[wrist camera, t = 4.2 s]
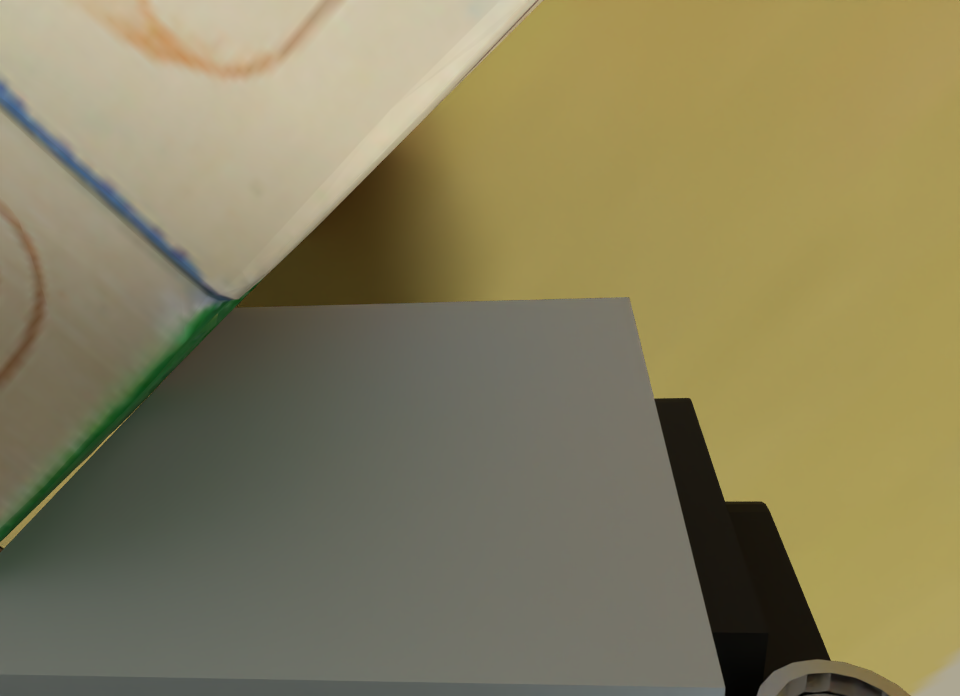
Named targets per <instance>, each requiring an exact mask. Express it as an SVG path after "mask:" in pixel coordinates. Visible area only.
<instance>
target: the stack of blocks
mask: <svg viewBox="0 0 960 696" xmlns="http://www.w3.org/2000/svg"><path fill="white" fill-rule="evenodd" d="M542 1H543V0H0V542H1V541H2V540H3V539H4V538H5V537H6V536H7V535H8V534H9V533H10V532H11V531H12V530H13V529H14V528H15V527H16V526H17V525H18V524H19V523H20V522H21V521H22V520H23V519H24V518H25V517H26V516H27V515H28V514H29V513H30V512H31V511H32V510H34V509H35V508H36V507H37V506H38V505H39V504H40V503H41V502H42V501H43V500H44V499H45V498H46V497H47V496H48V495H49V494H50V493H51V492H52V491H53V490H54V489H55V488H56V487H57V486H58V485H59V484H60V483H61V482H62V481H63V480H64V479H65V478H66V477H67V476H68V475H69V474H70V473H71V472H72V471H73V470H74V469H75V468H76V467H77V466H79V465H80V464H81V463H82V462H83V461H84V460H85V459H86V458H87V457H88V456H89V455H90V454H91V453H92V452H93V451H94V450H95V449H96V448H97V447H98V446H99V445H100V444H101V443H102V442H103V441H104V440H105V439H106V438H107V437H108V436H109V435H110V434H111V433H112V432H113V431H114V430H115V429H116V428H117V427H118V426H119V425H120V424H121V423H122V422H123V421H124V420H125V419H126V418H128V417H129V416H130V415H131V414H132V413H133V411H134V410H135V409H136V408H137V407H138V406H139V405H140V404H141V403H142V402H143V401H144V400H145V399H146V398H147V397H148V396H149V395H150V394H151V393H152V392H153V391H154V390H155V389H156V388H157V387H158V386H159V384H160V383H161V382H162V381H163V380H164V379H165V378H166V377H167V376H168V375H169V374H170V373H171V372H172V371H173V370H174V369H175V368H176V367H177V366H178V365H179V364H180V363H181V362H182V361H183V360H184V359H185V358H186V357H187V356H188V355H189V354H190V353H191V352H192V351H193V350H194V349H195V348H196V347H197V346H198V345H199V344H200V343H201V342H202V341H203V340H204V339H205V337H206V336H207V335H208V334H209V333H210V332H211V331H212V330H213V329H214V328H215V327H216V326H217V325H218V324H219V323H220V322H221V321H222V320H223V319H224V318H225V317H226V316H227V315H228V314H229V313H230V312H231V311H232V310H233V309H234V308H235V307H236V306H237V305H238V304H239V303H240V302H241V301H242V300H243V299H244V298H245V297H246V296H247V295H248V294H249V293H250V292H251V291H252V290H253V289H254V288H255V287H256V286H257V285H258V283H259V282H260V281H261V280H262V279H263V278H264V277H265V276H266V275H267V274H268V273H269V272H270V271H271V270H272V269H274V268H275V267H276V266H277V265H278V264H279V263H280V262H281V261H282V260H283V259H284V258H285V257H286V256H287V255H288V254H289V253H290V252H291V251H292V250H293V249H294V248H295V247H296V246H298V245H299V244H300V243H301V242H302V241H303V240H304V239H305V238H306V237H307V236H308V235H309V234H310V233H311V232H312V231H313V230H314V229H315V228H316V227H317V226H318V225H319V224H320V223H321V222H322V221H323V220H324V219H325V218H326V217H327V216H328V215H329V214H330V213H331V212H332V211H333V210H334V209H335V208H336V207H337V206H338V205H339V204H340V203H341V202H342V201H343V200H344V199H345V198H346V197H347V196H348V195H349V194H350V193H351V192H352V191H353V190H354V189H355V188H356V187H357V186H358V185H359V184H360V183H361V182H362V181H363V180H364V179H365V178H366V177H367V176H368V175H369V174H370V173H371V172H372V171H373V170H374V169H375V168H376V167H377V166H378V165H379V164H380V163H381V162H382V161H383V160H384V159H385V158H386V157H387V156H388V155H389V154H390V153H391V152H392V151H393V150H394V149H395V148H396V147H397V146H398V145H399V144H400V143H401V142H402V141H403V140H404V139H405V138H406V137H407V136H408V135H409V134H410V133H411V132H412V131H413V130H414V129H415V128H416V127H417V126H418V125H419V124H420V122H421V121H422V120H423V119H424V118H425V117H426V116H427V115H428V114H429V113H430V112H431V111H432V110H433V109H434V108H435V107H436V106H437V105H438V104H439V103H440V102H441V101H442V100H443V99H444V98H445V97H446V96H447V95H448V94H449V93H450V92H451V91H452V90H453V89H454V88H455V87H456V86H457V85H458V84H459V83H460V82H462V81H463V80H464V79H465V78H466V77H467V76H468V75H469V74H470V73H471V72H472V71H473V70H474V69H475V68H476V67H477V66H478V65H479V64H480V63H481V62H482V61H483V60H484V59H485V58H486V57H487V56H488V55H489V54H490V53H491V52H492V51H493V50H494V49H495V48H496V47H497V46H498V45H499V44H500V43H501V42H502V41H503V40H504V39H505V38H506V37H507V36H508V35H509V34H510V33H511V32H512V31H513V30H514V29H515V28H516V27H517V26H518V25H519V24H520V23H521V22H522V21H523V20H524V19H525V18H526V17H527V16H528V15H529V14H530V13H531V12H532V11H533V10H534V9H535V8H536V7H537V6H538V5H539V4H540V3H541V2H542Z"/></svg>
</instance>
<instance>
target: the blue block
mask: <svg viewBox="0 0 960 696" xmlns="http://www.w3.org/2000/svg"><path fill="white" fill-rule="evenodd" d="M0 696H725V685H724V681H723V676H722V672H721V668H720V664H719V660H718V656H717V652H716V648H715V644H714V640H713V636H712V632H711V628H710V624H709V620H708V616H707V611H706V607H705V603H704V599H703V595H702V591H701V587H700V583H699V579H698V575H697V571H696V567H695V563H694V559H693V555H692V551H691V546H690V542H689V538H688V534H687V530H686V526H685V522H684V518H683V514H682V510H681V506H680V502H679V498H678V494H677V490H676V486H675V482H674V477H673V473H672V469H671V465H670V461H669V457H668V453H667V449H666V445H665V441H664V437H663V433H662V429H661V425H660V421H659V417H658V413H657V408H656V404H655V400H654V396H653V392H652V388H651V384H650V380H649V376H648V372H647V368H646V364H645V360H644V356H643V352H642V348H641V343H640V339H639V335H638V331H637V327H636V323H635V319H634V315H633V311H632V307H631V303H630V299H629V297H624V298H586V299H548V300H509V301H471V302H433V303H395V304H356V305H318V306H280V307H242V308H234V309H233V310H232V311H231V312H230V313H229V314H228V315H227V316H226V317H225V318H224V319H223V320H222V321H221V322H220V323H219V324H218V325H217V326H216V327H215V328H214V329H213V330H212V331H211V332H210V333H209V334H208V335H207V336H206V337H205V339H204V340H203V341H202V342H201V343H200V344H199V345H198V346H197V347H196V348H195V349H194V350H193V351H192V352H191V353H190V354H189V355H188V356H187V357H186V358H185V359H184V360H183V361H182V362H181V363H180V364H179V365H178V366H177V367H176V368H175V369H174V370H173V372H172V373H171V374H170V375H169V376H168V377H167V378H166V379H165V380H164V381H163V382H162V383H161V384H160V385H159V386H158V387H157V388H156V389H155V390H154V391H153V393H152V394H151V395H150V396H149V397H148V398H147V399H146V400H145V401H144V402H143V403H142V404H141V405H140V406H139V407H138V408H137V409H136V410H135V411H134V413H133V414H132V415H131V416H130V417H129V418H128V419H127V420H126V421H125V422H124V423H123V424H122V425H121V426H120V427H119V428H118V429H117V430H116V431H115V432H114V434H113V435H112V436H111V437H110V438H109V439H108V440H107V441H106V442H105V443H104V444H103V445H102V446H101V447H100V448H99V449H98V450H97V451H96V452H95V454H94V455H93V456H92V457H91V458H90V459H89V460H88V461H87V462H86V463H85V464H84V465H83V466H82V467H81V468H80V469H79V470H78V471H77V472H76V473H75V475H74V476H73V477H72V478H71V479H70V480H69V481H68V482H67V483H66V484H65V485H64V486H63V487H62V488H61V489H60V490H59V491H58V492H57V493H56V495H55V496H54V497H53V498H52V499H51V500H50V501H49V502H48V503H47V504H46V505H45V506H44V507H43V508H42V509H41V510H40V511H39V512H38V513H37V514H36V516H35V517H34V518H33V519H32V520H31V521H30V522H29V523H28V524H27V525H26V526H25V527H24V528H23V529H22V530H21V531H20V532H19V533H18V534H17V536H16V537H15V538H14V539H13V540H12V541H11V542H10V543H9V544H8V545H7V546H6V547H5V548H4V549H3V550H2V551H1V552H0Z"/></svg>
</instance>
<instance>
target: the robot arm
mask: <svg viewBox="0 0 960 696" xmlns="http://www.w3.org/2000/svg"><path fill="white" fill-rule="evenodd" d="M654 400H655V404H656V408H657V413H658V417H659V421H660V425H661V429H662V433H663V437H664V441H665V445H666V449H667V453H668V457H669V461H670V465H671V469H672V473H673V477H674V482H675V486H676V490H677V494H678V498H679V502H680V506H681V510H682V514H683V518H684V522H685V526H686V530H687V534H688V538H689V542H690V546H691V551H692V555H693V559H694V563H695V567H696V571H697V575H698V579H699V583H700V587H701V591H702V595H703V599H704V603H705V607H706V611H707V616H708V620H709V624H710V628H711V632H712V636H713V640H714V644H715V648H716V652H717V656H718V660H719V664H720V668H721V672H722V676H723V681H724V685H725V696H910V695H909V694H908V693H907V692H906V691H904V690H903V689H902V688H901V687H900V686H898V685H897V684H895V683H893V682H891V681H889V680H888V679H886V678H884V677H882V676H880V675H878V674H876V673H875V672H873V671H871V670H867V669H864V668H861V667H858V666H855V665H852V664H848V663H845V662H838V661H831V660H830V658H829V655H828V653H827V650H826V648H825V645H824V643H823V640H822V638H821V636H820V633H819V631H818V628H817V626H816V623H815V621H814V618H813V616H812V614H811V611H810V609H809V606H808V604H807V601H806V599H805V596H804V594H803V592H802V589H801V587H800V584H799V582H798V579H797V577H796V574H795V572H794V570H793V567H792V565H791V562H790V560H789V557H788V555H787V553H786V550H785V548H784V545H783V543H782V540H781V538H780V535H779V533H778V531H777V528H776V526H775V523H774V521H773V518H772V516H771V513H770V511H769V509H768V508H767V506H766V504H764V503H763V502H725V500H724V497H723V494H722V491H721V488H720V485H719V482H718V479H717V476H716V473H715V470H714V467H713V464H712V461H711V458H710V455H709V452H708V449H707V446H706V443H705V440H704V437H703V434H702V431H701V428H700V425H699V422H698V419H697V416H696V413H695V410H694V407H693V404H692V401H691V399H690V398H664V399H654Z"/></svg>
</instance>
